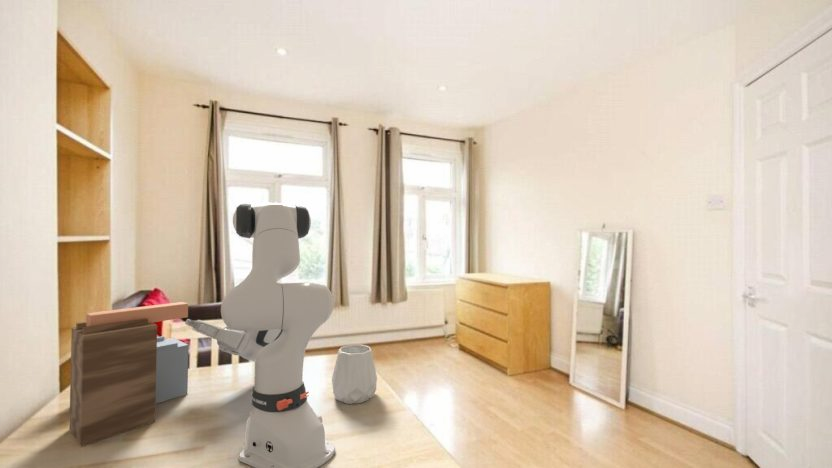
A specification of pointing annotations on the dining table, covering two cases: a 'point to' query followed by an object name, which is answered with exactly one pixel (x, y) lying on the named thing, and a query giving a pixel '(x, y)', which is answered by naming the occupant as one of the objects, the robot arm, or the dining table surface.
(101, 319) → the baton
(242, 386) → the dining table surface
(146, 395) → the stand
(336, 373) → the vase
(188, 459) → the dining table surface
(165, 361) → the step
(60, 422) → the dining table surface
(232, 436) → the dining table surface
